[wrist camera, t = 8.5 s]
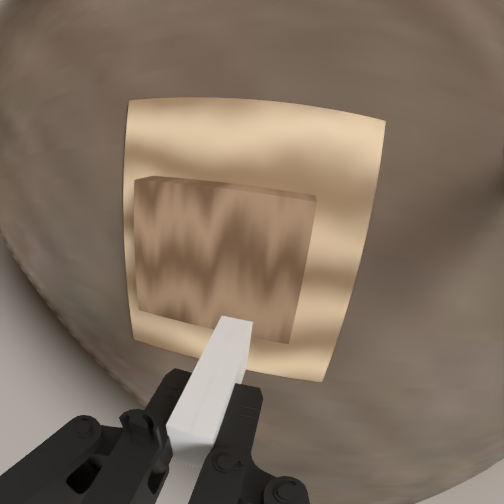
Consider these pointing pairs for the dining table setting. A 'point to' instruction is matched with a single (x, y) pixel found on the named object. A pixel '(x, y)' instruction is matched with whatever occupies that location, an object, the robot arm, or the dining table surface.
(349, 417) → the dining table surface
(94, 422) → the robot arm
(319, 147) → the light wooden board
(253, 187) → the panel
